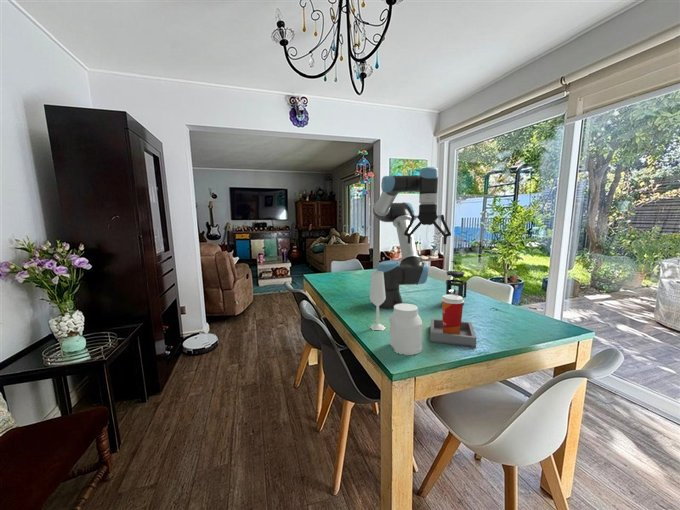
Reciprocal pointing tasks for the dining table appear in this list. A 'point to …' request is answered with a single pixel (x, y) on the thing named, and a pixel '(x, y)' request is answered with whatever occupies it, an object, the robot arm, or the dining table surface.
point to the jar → (406, 329)
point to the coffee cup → (452, 313)
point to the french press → (460, 284)
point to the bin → (464, 339)
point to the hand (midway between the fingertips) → (426, 251)
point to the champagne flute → (377, 295)
